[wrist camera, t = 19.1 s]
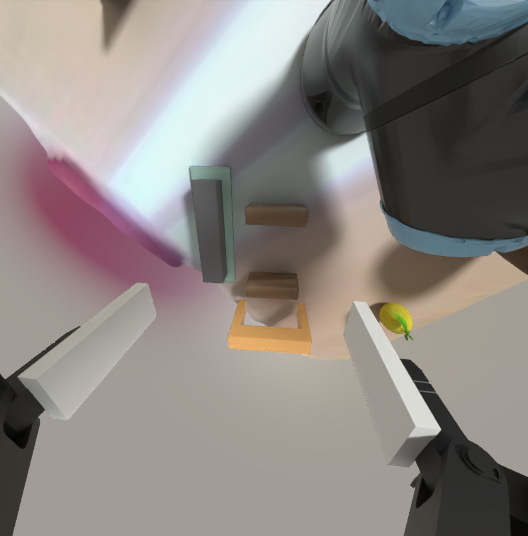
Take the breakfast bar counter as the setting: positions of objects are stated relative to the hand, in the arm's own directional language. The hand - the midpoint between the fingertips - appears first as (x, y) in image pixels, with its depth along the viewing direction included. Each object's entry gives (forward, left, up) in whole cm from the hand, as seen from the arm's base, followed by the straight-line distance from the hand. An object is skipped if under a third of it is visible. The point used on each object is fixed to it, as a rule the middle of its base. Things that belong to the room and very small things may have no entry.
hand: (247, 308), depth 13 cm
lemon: (+19, +28, -29) cm, 44 cm away
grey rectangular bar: (+3, -10, -28) cm, 30 cm away
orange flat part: (+20, +2, -26) cm, 33 cm away
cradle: (+6, +2, -28) cm, 29 cm away
